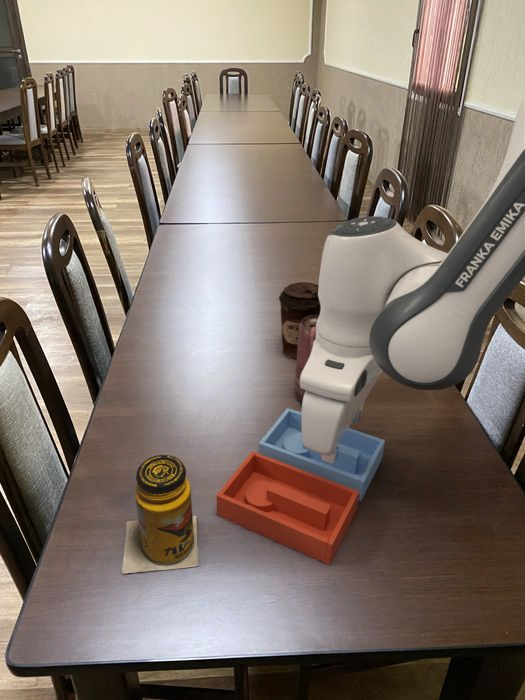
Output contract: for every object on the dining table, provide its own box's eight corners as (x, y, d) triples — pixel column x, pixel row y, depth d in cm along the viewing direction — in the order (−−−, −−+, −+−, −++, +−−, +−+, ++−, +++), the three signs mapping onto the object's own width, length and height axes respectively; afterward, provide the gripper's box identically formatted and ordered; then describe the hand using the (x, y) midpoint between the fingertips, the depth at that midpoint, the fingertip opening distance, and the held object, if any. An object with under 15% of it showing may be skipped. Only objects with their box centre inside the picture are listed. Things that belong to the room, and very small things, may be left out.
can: (291, 405, 87) (295, 330, 80) (298, 383, 93) (303, 311, 85) (328, 411, 86) (336, 335, 79) (333, 389, 91) (341, 316, 84)
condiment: (198, 566, 61) (193, 490, 55) (121, 574, 60) (107, 498, 54) (196, 516, 67) (191, 443, 61) (127, 523, 66) (115, 449, 60)
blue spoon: (362, 461, 76) (364, 444, 74) (351, 480, 72) (353, 464, 71) (290, 435, 80) (291, 419, 79) (277, 452, 77) (278, 436, 75)
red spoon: (333, 514, 67) (335, 497, 66) (319, 539, 64) (321, 522, 62) (255, 482, 72) (255, 465, 70) (238, 504, 68) (238, 487, 67)
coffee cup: (325, 363, 98) (332, 299, 92) (281, 365, 97) (284, 300, 91) (315, 339, 106) (320, 278, 99) (273, 341, 105) (276, 280, 98)
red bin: (356, 510, 68) (359, 491, 67) (329, 565, 61) (332, 544, 60) (252, 469, 74) (252, 450, 73) (216, 515, 67) (216, 495, 66)
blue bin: (382, 458, 77) (385, 440, 75) (361, 501, 70) (364, 481, 68) (286, 425, 83) (287, 407, 81) (258, 462, 76) (258, 443, 74)
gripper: (354, 311, 75) (346, 392, 82) (293, 384, 59) (289, 476, 66) (399, 320, 72) (386, 404, 79) (347, 399, 57) (337, 494, 64)
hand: (342, 437), depth 73 cm, fingers open, 8 cm apart
